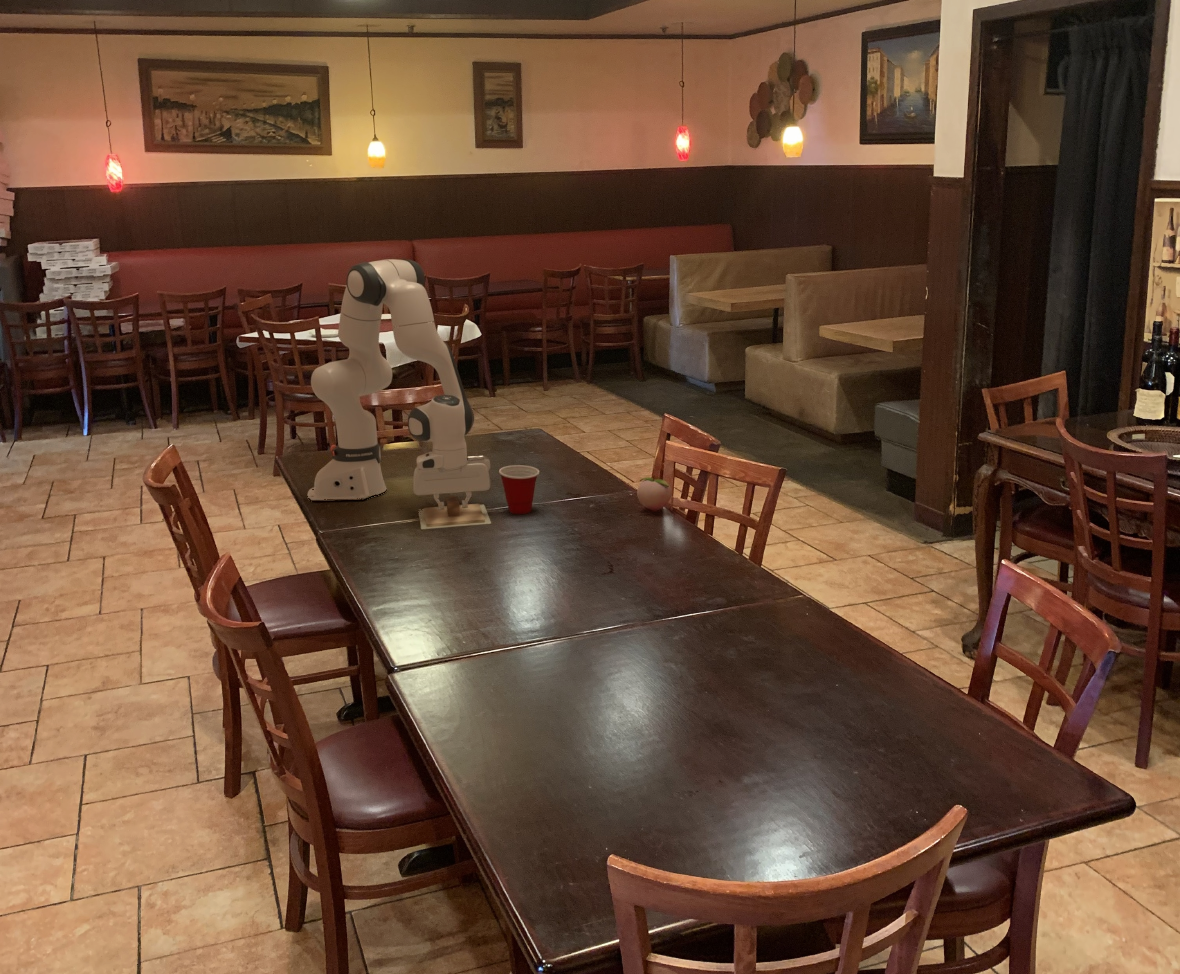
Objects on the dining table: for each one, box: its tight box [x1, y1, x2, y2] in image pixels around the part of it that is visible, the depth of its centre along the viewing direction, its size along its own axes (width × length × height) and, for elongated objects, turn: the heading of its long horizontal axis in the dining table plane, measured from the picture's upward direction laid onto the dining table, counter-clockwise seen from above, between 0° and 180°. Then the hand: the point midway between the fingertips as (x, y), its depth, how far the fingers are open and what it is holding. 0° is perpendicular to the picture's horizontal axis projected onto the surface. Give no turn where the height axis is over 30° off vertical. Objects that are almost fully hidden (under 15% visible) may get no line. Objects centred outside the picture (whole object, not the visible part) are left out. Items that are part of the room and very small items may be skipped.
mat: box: [418, 504, 492, 530], centre depth 294 cm, size 18×18×1 cm
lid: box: [423, 495, 485, 527], centre depth 293 cm, size 15×15×5 cm
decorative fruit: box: [636, 474, 673, 512], centre depth 294 cm, size 9×8×10 cm
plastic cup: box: [498, 464, 540, 515], centre depth 296 cm, size 11×11×12 cm
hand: (453, 508), depth 294 cm, fingers open, 5 cm apart
